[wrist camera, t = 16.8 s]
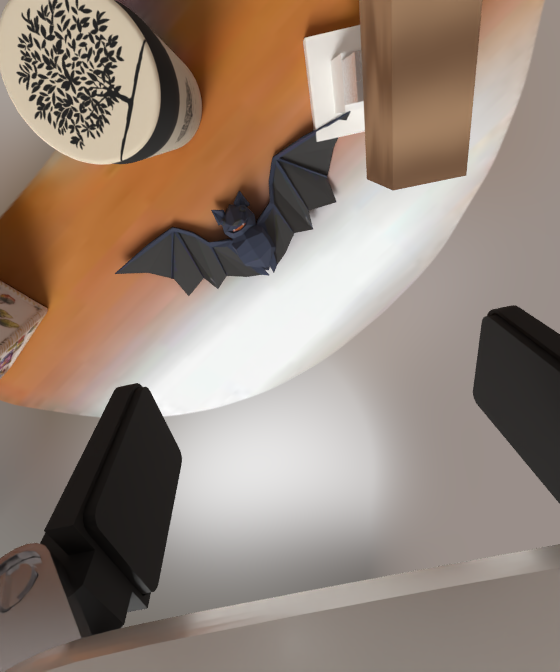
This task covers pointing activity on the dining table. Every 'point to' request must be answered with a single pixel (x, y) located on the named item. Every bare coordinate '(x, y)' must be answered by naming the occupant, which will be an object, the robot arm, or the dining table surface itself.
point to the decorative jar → (16, 323)
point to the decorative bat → (248, 223)
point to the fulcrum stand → (335, 81)
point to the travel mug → (96, 80)
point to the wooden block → (418, 88)
